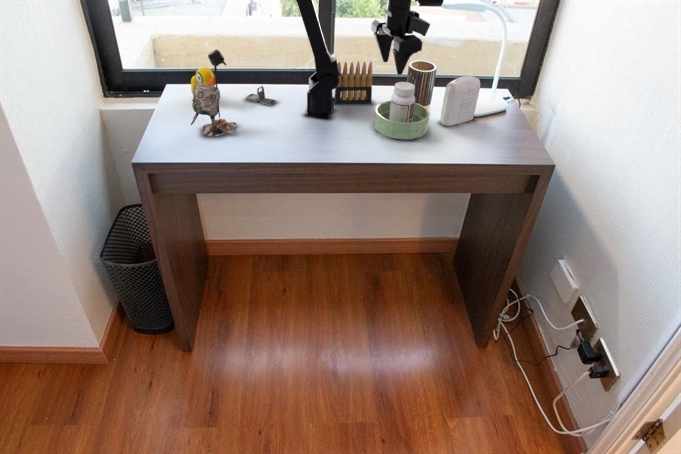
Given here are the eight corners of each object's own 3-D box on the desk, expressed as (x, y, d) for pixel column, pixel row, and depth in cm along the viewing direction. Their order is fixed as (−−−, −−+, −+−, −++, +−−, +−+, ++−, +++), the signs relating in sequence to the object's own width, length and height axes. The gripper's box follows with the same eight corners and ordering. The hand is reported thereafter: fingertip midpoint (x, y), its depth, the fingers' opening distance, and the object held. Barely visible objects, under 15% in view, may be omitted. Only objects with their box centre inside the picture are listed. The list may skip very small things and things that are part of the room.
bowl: (369, 136, 130) (370, 118, 127) (379, 114, 141) (381, 97, 138) (423, 145, 128) (426, 127, 124) (429, 121, 138) (432, 104, 135)
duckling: (226, 106, 141) (223, 71, 135) (210, 111, 138) (205, 75, 132) (204, 93, 147) (199, 59, 141) (187, 98, 144) (182, 63, 138)
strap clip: (245, 99, 145) (244, 85, 142) (251, 96, 147) (250, 81, 144) (271, 106, 142) (270, 91, 140) (276, 102, 144) (276, 87, 142)
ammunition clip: (370, 100, 148) (373, 60, 140) (371, 103, 146) (374, 62, 139) (333, 101, 146) (335, 60, 139) (334, 104, 145) (336, 62, 138)
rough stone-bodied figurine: (196, 122, 132) (185, 45, 120) (240, 124, 132) (233, 47, 120) (189, 137, 126) (176, 57, 114) (234, 139, 126) (227, 59, 114)
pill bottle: (403, 119, 137) (408, 79, 130) (416, 129, 133) (422, 88, 126) (384, 123, 135) (388, 82, 128) (395, 133, 131) (400, 91, 124)
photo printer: (464, 114, 143) (473, 71, 136) (475, 120, 140) (484, 76, 133) (437, 121, 138) (444, 78, 131) (448, 128, 136) (456, 83, 128)
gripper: (446, 14, 119) (436, 78, 129) (412, -6, 133) (405, 54, 143) (403, 16, 116) (396, 82, 126) (372, -4, 130) (368, 57, 139)
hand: (392, 68), depth 133 cm, fingers open, 9 cm apart
